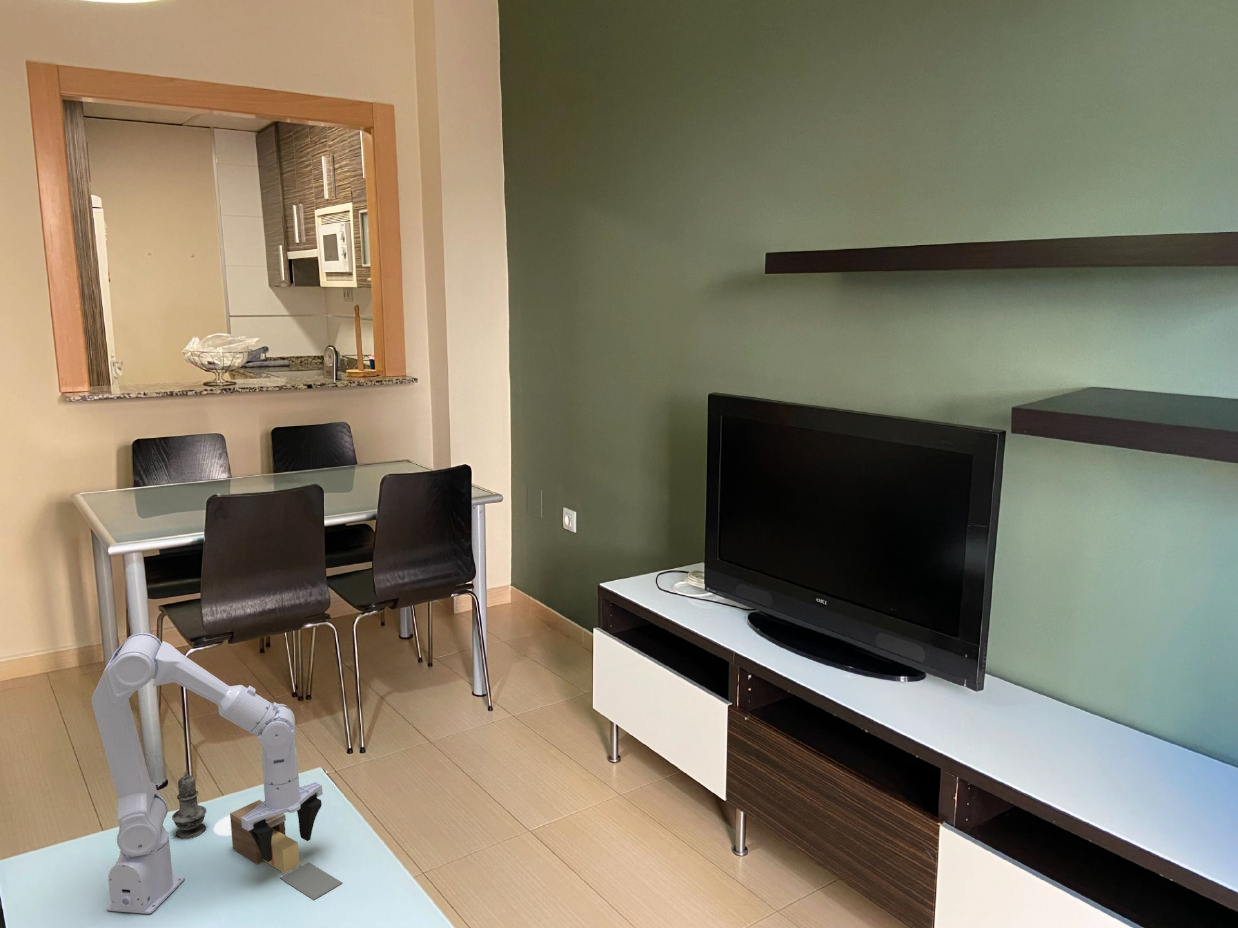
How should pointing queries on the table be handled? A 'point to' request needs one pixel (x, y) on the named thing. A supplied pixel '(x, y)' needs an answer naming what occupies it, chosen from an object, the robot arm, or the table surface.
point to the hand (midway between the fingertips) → (286, 848)
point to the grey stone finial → (188, 810)
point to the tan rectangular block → (284, 852)
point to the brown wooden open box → (243, 838)
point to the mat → (311, 880)
